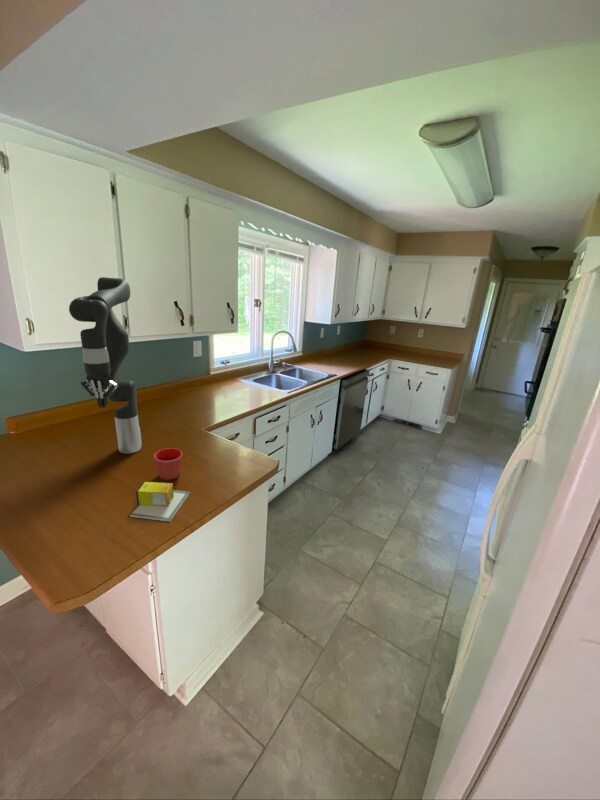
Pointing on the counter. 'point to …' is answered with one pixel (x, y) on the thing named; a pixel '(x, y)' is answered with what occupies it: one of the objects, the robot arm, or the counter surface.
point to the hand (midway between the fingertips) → (103, 407)
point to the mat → (162, 508)
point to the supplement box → (154, 494)
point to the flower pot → (168, 463)
